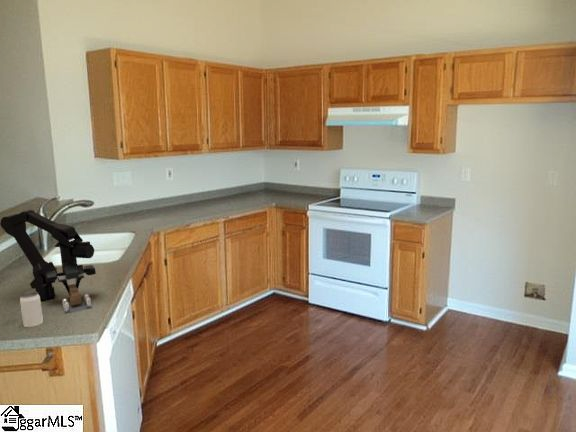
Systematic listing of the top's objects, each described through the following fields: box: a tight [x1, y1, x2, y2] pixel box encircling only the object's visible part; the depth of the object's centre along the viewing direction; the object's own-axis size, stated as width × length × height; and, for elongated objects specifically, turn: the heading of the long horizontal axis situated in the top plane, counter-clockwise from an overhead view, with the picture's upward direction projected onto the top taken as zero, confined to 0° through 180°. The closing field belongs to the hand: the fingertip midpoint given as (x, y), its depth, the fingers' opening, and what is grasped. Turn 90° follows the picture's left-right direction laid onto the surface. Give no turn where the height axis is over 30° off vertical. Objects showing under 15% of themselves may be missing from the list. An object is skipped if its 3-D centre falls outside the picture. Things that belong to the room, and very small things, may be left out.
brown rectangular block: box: [68, 283, 82, 305], centre depth 190 cm, size 12×4×6 cm, turn 31°
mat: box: [61, 299, 93, 315], centre depth 187 cm, size 10×12×1 cm
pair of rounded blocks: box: [61, 293, 92, 314], centre depth 184 cm, size 10×6×4 cm, turn 122°
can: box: [19, 290, 44, 328], centre depth 170 cm, size 6×6×12 cm
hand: (72, 292), depth 193 cm, fingers closed on brown rectangular block, 2 cm apart
